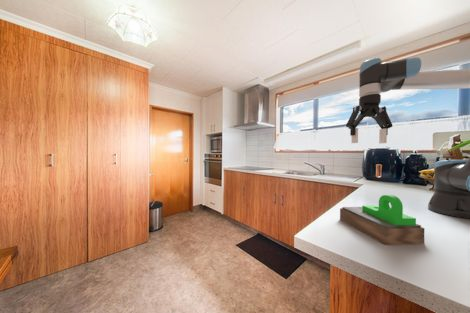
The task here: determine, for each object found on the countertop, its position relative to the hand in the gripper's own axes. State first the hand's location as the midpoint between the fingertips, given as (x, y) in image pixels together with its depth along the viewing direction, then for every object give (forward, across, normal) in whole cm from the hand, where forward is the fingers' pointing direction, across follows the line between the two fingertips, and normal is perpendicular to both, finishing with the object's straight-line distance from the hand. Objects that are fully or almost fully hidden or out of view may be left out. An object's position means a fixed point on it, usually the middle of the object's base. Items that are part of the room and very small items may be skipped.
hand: (368, 143), depth 74 cm
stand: (+31, +14, +18) cm, 38 cm away
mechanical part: (+26, +12, +20) cm, 35 cm away
